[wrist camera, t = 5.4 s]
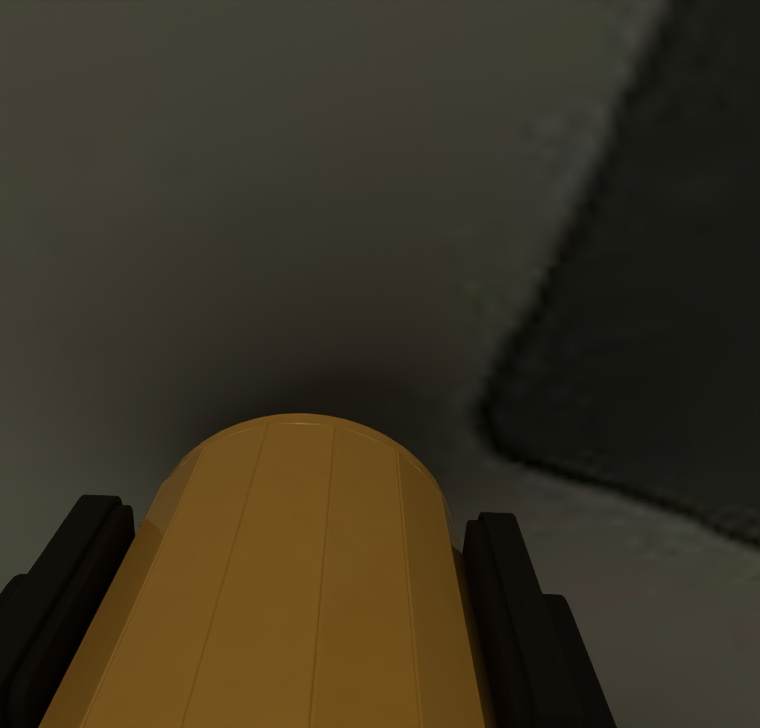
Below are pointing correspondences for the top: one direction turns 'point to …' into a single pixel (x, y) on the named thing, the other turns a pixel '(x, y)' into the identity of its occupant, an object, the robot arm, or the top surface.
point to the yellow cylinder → (286, 594)
